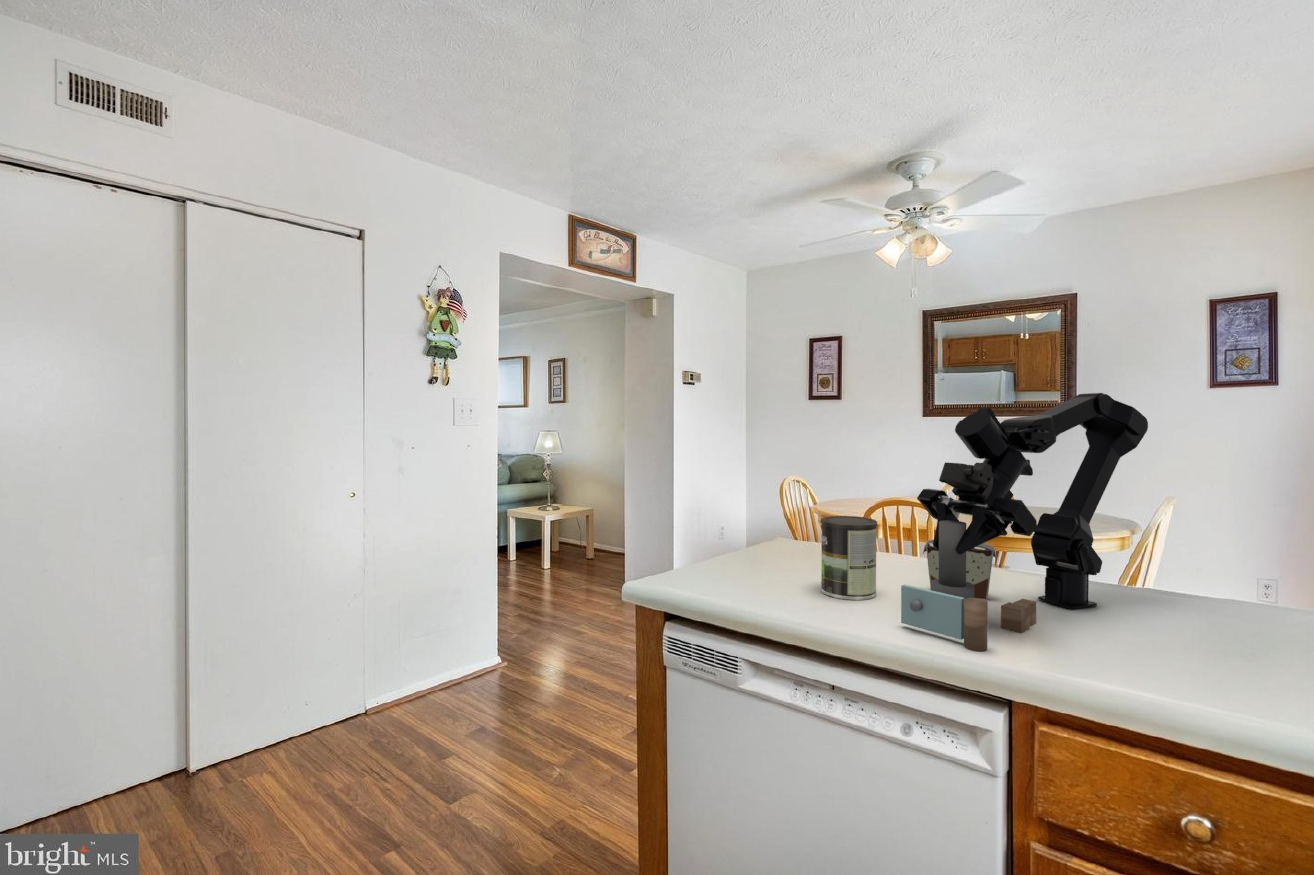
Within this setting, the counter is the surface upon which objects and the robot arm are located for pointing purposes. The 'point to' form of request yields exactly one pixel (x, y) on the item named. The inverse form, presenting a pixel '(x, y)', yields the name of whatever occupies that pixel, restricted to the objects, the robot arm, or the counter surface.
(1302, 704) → the counter surface
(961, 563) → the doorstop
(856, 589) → the coffee can
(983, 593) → the food container
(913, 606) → the door
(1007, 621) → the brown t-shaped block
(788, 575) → the counter surface
